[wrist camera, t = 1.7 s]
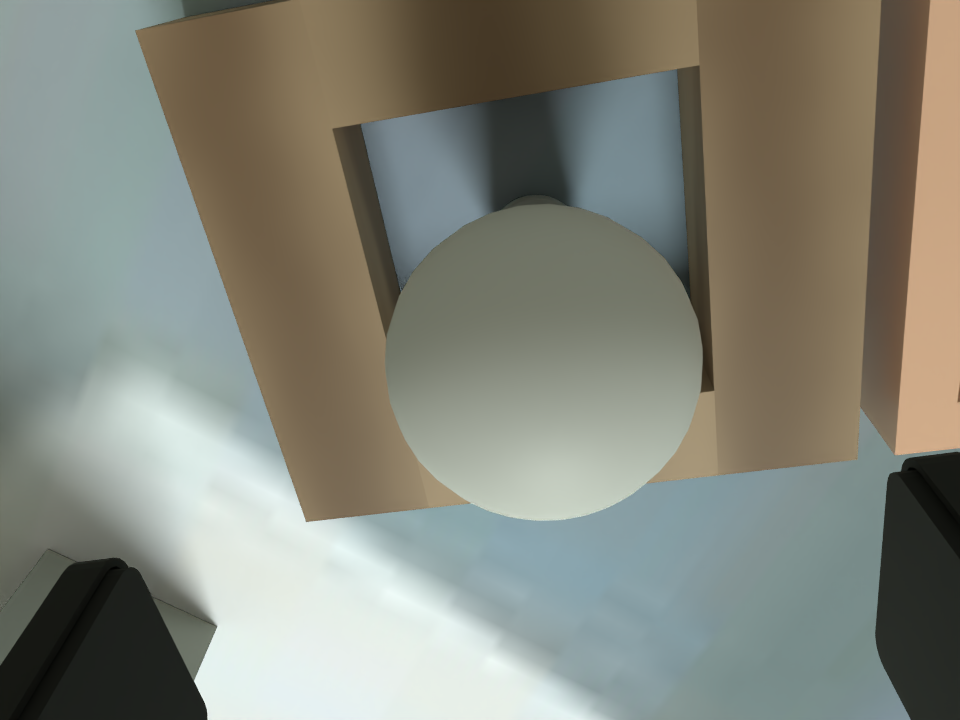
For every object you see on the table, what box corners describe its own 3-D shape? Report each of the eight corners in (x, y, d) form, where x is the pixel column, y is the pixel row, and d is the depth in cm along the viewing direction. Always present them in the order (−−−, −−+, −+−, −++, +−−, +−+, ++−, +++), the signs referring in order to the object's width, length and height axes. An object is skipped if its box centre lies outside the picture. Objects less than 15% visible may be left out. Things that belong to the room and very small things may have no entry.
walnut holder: (835, -110, 19) (887, -116, 16) (821, 403, 25) (857, 459, 22) (184, 17, 21) (135, 30, 18) (327, 463, 27) (306, 521, 24)
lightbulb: (607, 84, 21) (683, 219, 11) (668, 289, 23) (773, 541, 14) (392, 166, 22) (294, 351, 12) (473, 352, 25) (444, 624, 15)
